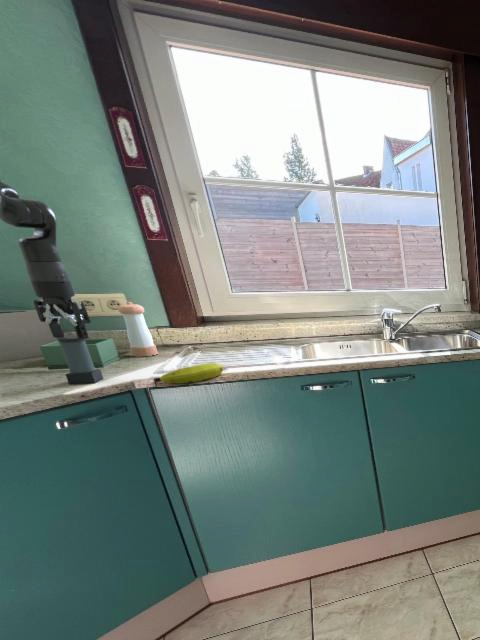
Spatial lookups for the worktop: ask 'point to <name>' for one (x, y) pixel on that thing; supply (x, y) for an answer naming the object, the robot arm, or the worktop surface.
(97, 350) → the tote
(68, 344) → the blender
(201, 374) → the banana
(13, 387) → the worktop surface
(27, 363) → the worktop surface
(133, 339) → the salt shaker
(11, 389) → the worktop surface
